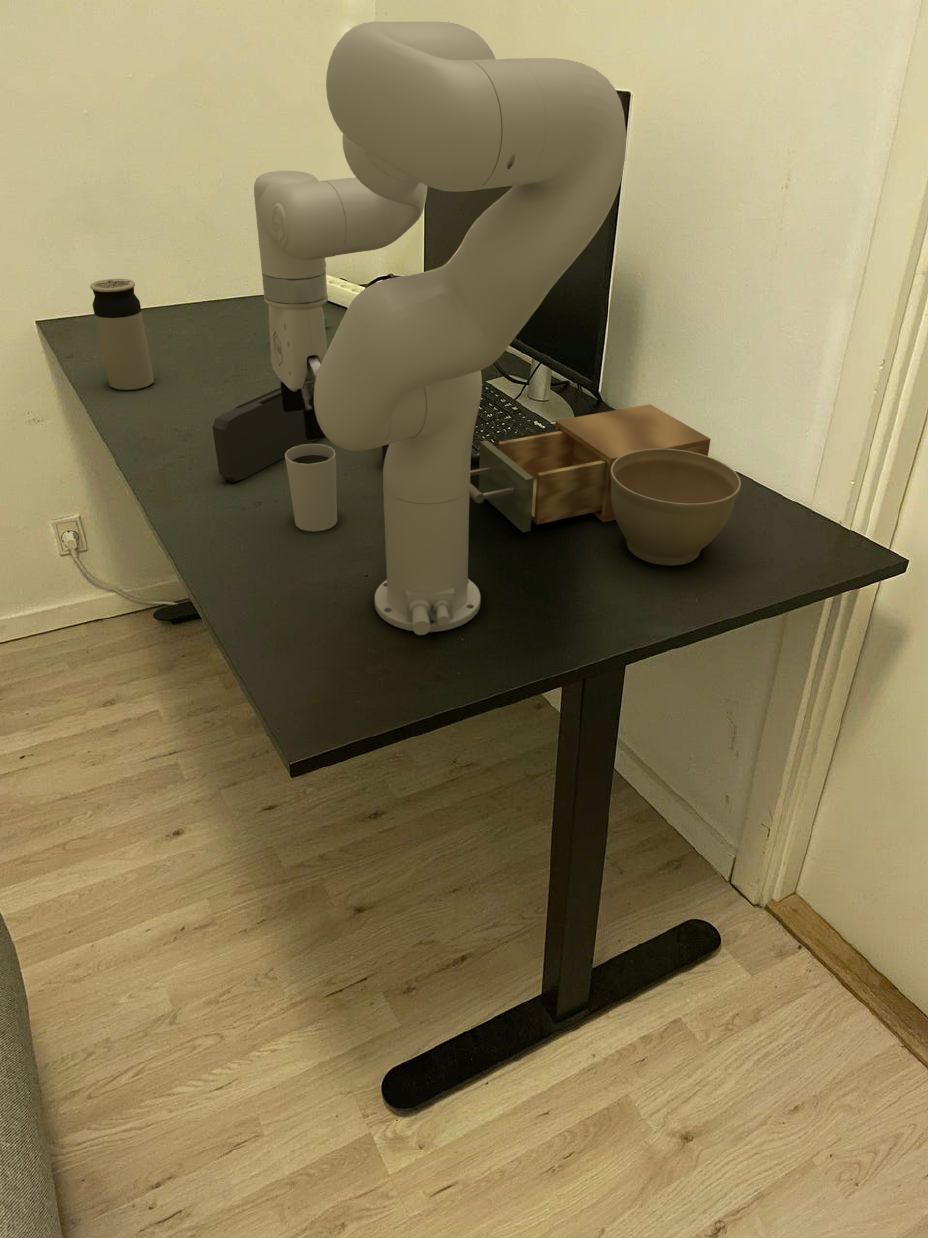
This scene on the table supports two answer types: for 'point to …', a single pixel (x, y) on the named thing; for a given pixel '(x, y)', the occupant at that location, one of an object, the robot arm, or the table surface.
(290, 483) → the white coffee cup
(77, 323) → the table surface
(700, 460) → the planter bowl
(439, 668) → the table surface
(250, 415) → the handheld gaming console
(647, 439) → the cabinet
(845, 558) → the table surface
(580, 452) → the drawer
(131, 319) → the travel mug
